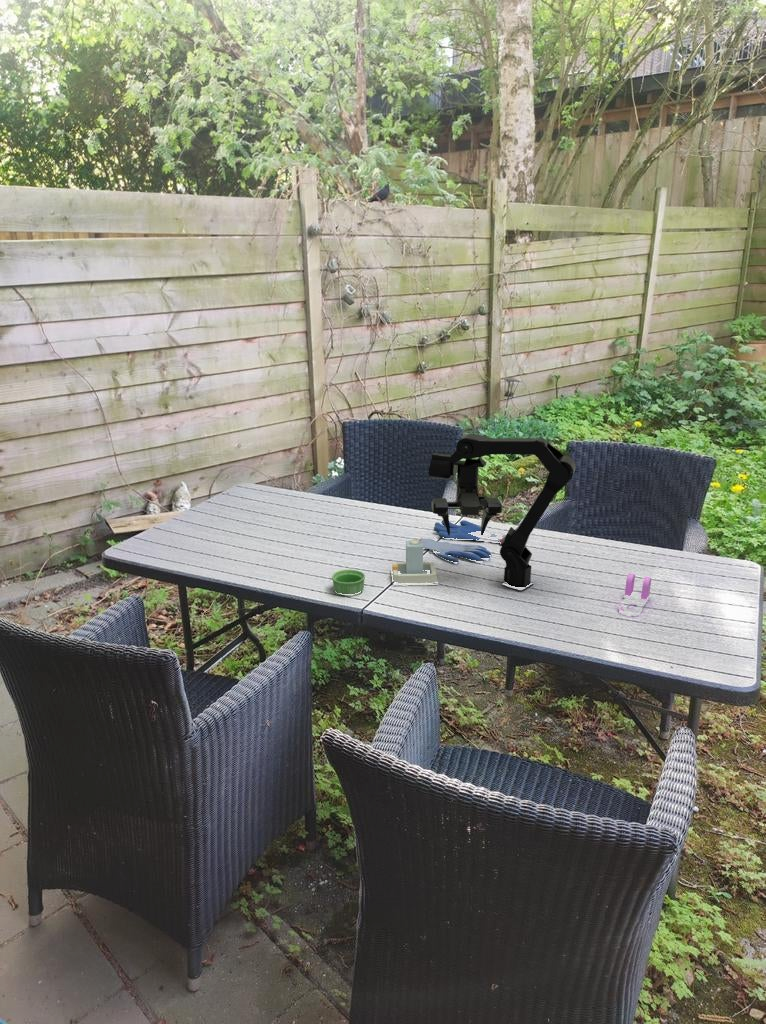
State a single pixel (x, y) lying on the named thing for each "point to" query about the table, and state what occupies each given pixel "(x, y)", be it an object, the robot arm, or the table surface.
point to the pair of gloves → (457, 549)
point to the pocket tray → (414, 577)
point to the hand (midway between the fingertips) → (465, 534)
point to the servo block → (414, 557)
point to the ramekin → (348, 581)
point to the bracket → (631, 585)
